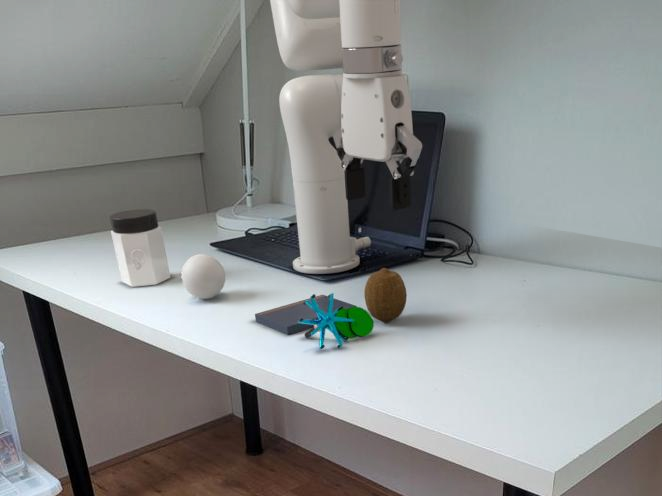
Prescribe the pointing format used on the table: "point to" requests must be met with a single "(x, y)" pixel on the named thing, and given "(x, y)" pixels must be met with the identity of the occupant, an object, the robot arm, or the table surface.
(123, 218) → the jar
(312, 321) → the stick construction toy
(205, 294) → the white sphere
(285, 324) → the notebook
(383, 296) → the fruit
